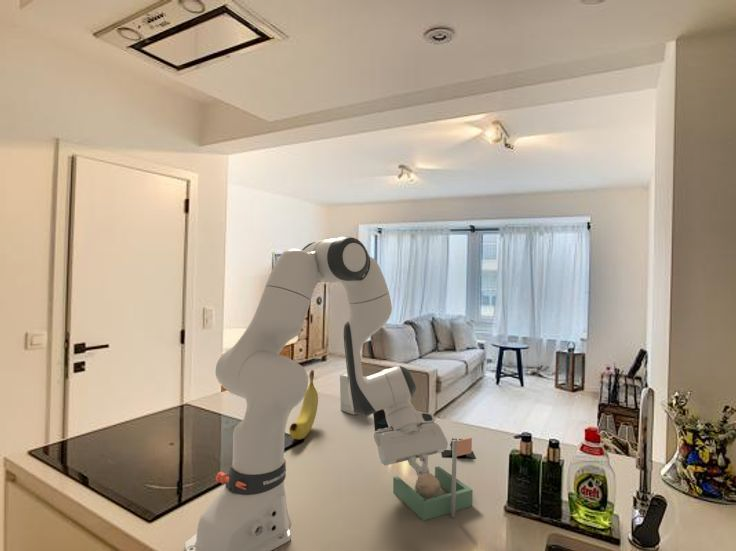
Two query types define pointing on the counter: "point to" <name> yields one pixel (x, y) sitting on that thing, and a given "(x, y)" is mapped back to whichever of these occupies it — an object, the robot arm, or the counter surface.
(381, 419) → the dixie cup
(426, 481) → the garlic bulb
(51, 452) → the counter surface
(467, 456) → the build plate
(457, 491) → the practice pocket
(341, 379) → the skincare box
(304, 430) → the banana
